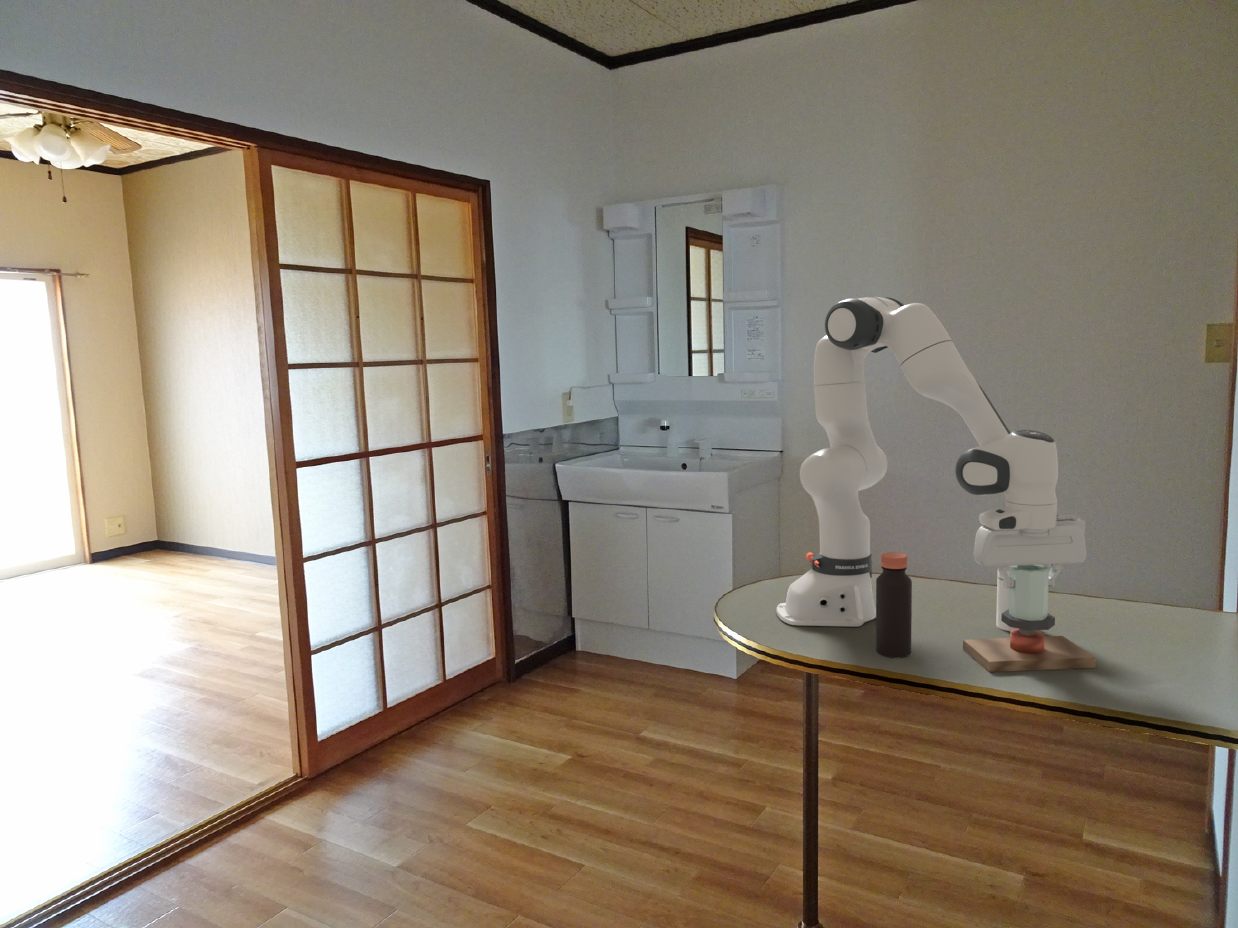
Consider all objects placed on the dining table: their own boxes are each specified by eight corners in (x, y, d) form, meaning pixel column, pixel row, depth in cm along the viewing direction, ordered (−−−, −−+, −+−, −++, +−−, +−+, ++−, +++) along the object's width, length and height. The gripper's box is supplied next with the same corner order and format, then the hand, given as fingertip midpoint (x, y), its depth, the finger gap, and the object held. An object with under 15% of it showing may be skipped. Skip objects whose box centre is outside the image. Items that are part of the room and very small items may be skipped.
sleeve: (1019, 621, 163) (1020, 572, 162) (1004, 611, 169) (1005, 563, 168) (1052, 619, 163) (1053, 571, 162) (1036, 609, 169) (1037, 562, 168)
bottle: (899, 644, 177) (900, 549, 174) (917, 656, 171) (919, 557, 168) (869, 648, 176) (869, 552, 173) (886, 659, 169) (887, 560, 166)
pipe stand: (988, 671, 161) (990, 589, 159) (962, 649, 173) (964, 571, 171) (1095, 667, 162) (1098, 584, 159) (1061, 645, 173) (1064, 567, 171)
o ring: (1015, 631, 162) (1016, 623, 162) (995, 616, 171) (995, 609, 171) (1061, 629, 162) (1061, 621, 162) (1039, 614, 171) (1039, 607, 171)
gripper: (1076, 510, 167) (1074, 579, 169) (970, 514, 167) (969, 584, 169) (1094, 517, 160) (1091, 589, 162) (985, 521, 160) (983, 593, 162)
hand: (1028, 586), depth 165 cm, fingers closed on sleeve, 6 cm apart
